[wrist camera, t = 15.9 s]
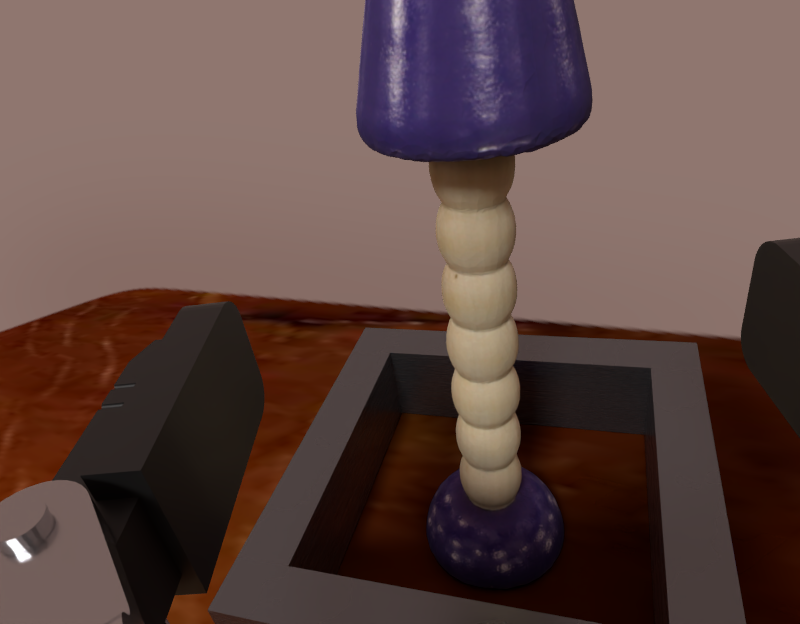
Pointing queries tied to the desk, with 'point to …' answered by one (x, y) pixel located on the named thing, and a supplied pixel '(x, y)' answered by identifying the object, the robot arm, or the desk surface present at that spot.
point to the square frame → (539, 404)
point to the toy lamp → (478, 236)
